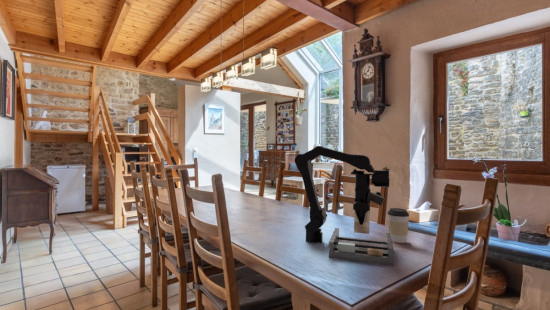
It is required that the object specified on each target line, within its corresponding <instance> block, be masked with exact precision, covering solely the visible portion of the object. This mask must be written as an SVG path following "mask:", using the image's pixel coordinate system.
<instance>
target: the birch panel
mask: <svg viewBox="0 0 550 310" xmlns="http://www.w3.org/2000/svg"><path fill="white" fill-rule="evenodd" d="M353 212H354V213H353V214H354V215H353V217H354V218H353V221H354V223H353V233H356V234H366V235H370V224H371V223H370V219H371V218H370V216H371V215H370V214H371V210H370V211H367V212H366V213H365V218H364V222H363V225H360V223H359V220H358V217H357V215H356V212H355V210H354V211H353Z"/></svg>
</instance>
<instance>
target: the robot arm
mask: <svg viewBox="0 0 550 310" xmlns="http://www.w3.org/2000/svg"><path fill="white" fill-rule="evenodd" d="M320 156H322V157H325V158H329V159H332V160H335V161H340V162H343V163H346V164H349V165H350V166H352V167H354V169H353V170H352V171H351V172H350V175H355V178H354V179H355V180H354V181H355V182H354V183H355V184H354V187H355V188H354V202H353V204H352V210H355V212H356V215H357V217H358V220H359V223H360V225H363V222H364V218H365V213H366V212H367V211H370V212H371V202H372V203H374V204H377V205H378V206H381V207H382V205H383V204H384V201H385V197H384V196H382V192H379V191H376V192H372V191H371V187H370V186H371V185H373V187H374V188H375V187H378V188H390V171H389V169H384V170H381V169H375V167H373V165H372V164H371V161H372V160H371V158H370V157H369V156H367V155H364V154H357V153H353V154H352V153H347V152H343V151H340V150H339V151H338V150H335V149H331V148H327V147H324V146H323V145H317V146H315V147H314V148H312V149H310V150H308V151H306V152H305V153H299V154H297V155H296V156H295V158H294V164H295V165H296V168H297V170H298V172H299V173H300V175H301V178H302V182H303V186H304V189H305V193H306V197H307V201H308V204H309V222H308V223H307V224H305V226H304V229H305V243H311V244H322V243H323V239H324V238H323V237H324V236H323V235H324V234H323V232H322V227H323V225H325V223H327V222H326V221H327V217H328V214H327V212H326V207H325V206H324V207H322V206H321V204H320V201H319V197H318V193H317V190H316V185H315V182H314V178H313V173H312V168H313V167H312V161H314V160H315V159H317V158H319V157H320ZM358 169H359V170H358ZM365 171H366V172H367V173H366V172H365ZM370 184H371V185H370Z"/></svg>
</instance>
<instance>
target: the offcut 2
mask: <svg viewBox="0 0 550 310" xmlns="http://www.w3.org/2000/svg"><path fill="white" fill-rule="evenodd" d="M382 252H383V251H382V249H373V248H368V254H369V255H378V256H382Z"/></svg>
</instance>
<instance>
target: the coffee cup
mask: <svg viewBox="0 0 550 310" xmlns="http://www.w3.org/2000/svg"><path fill="white" fill-rule="evenodd" d="M386 214H387V225H388V226H387V228H388V229H387V230H388V233H390V235H391V239H392V243H398V244H400V243H401V244H404V243H407V239H408V238H407V236H408V232H409V231H408V230H409V223H410V221H409V218H410V213H409V212H408V210H407V209H405V208H398V207H397V208H396V207H394V208H393V207H392V208H391V207H390V208H389V210H388V211H387V213H386Z"/></svg>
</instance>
